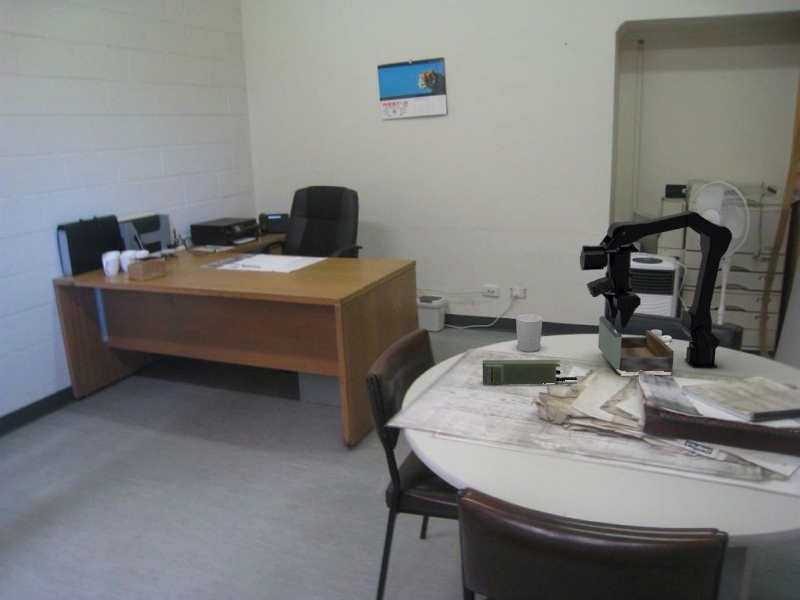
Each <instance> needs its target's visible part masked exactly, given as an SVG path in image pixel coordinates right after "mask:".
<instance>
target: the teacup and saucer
mask: <svg viewBox="0 0 800 600" xmlns="http://www.w3.org/2000/svg"><path fill="white" fill-rule="evenodd" d="M650 331H651V332H652V333H654V334H655V335H656V336H657V337H658V338H659V339H660V340H662V341H663V342H664V343H665V344H666V345H667V346H669V344H670V342H671V341H672V339H673V337H672V336H671V335H665V334H664V335H662V334H663V331H662V330H660V329H651V330H650Z"/></svg>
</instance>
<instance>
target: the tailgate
mask: <svg viewBox="0 0 800 600" xmlns="http://www.w3.org/2000/svg"><path fill="white" fill-rule="evenodd" d="M598 321H599V325H598V326H599V327H598V342H597V343H598V345H597V347H598V350H599V351H600V352H601V353H602V354H603V355H605V356H604V357H605V358H606V359H607V361H608V362H609V363H610V365H611V366H612V367H613V369H620V355H621V337H623V335H622V333H620V332H619V331H618V330H617V329H616V327H615V326H614V325H613V324H612V323H611V322H609V320H608V319H607V318H606V317H605V316H604V315H601V316H599V319H598Z"/></svg>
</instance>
